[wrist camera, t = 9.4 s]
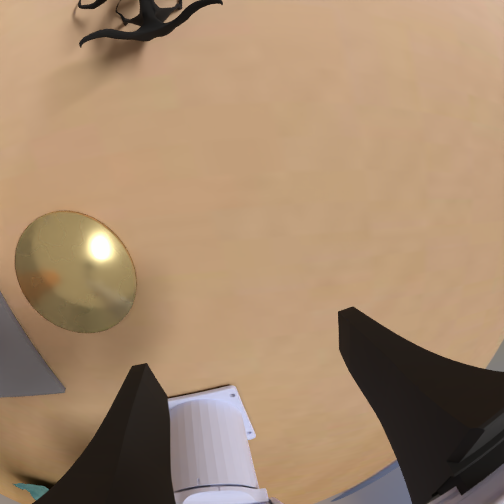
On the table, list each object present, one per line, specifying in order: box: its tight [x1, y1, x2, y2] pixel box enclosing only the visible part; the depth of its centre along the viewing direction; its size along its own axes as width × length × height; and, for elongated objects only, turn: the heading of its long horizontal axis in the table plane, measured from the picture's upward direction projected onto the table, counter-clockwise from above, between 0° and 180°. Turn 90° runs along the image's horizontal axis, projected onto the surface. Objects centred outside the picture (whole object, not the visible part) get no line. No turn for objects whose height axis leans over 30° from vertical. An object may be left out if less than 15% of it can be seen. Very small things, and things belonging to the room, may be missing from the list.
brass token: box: [15, 211, 137, 333], centre depth 18 cm, size 9×9×1 cm
